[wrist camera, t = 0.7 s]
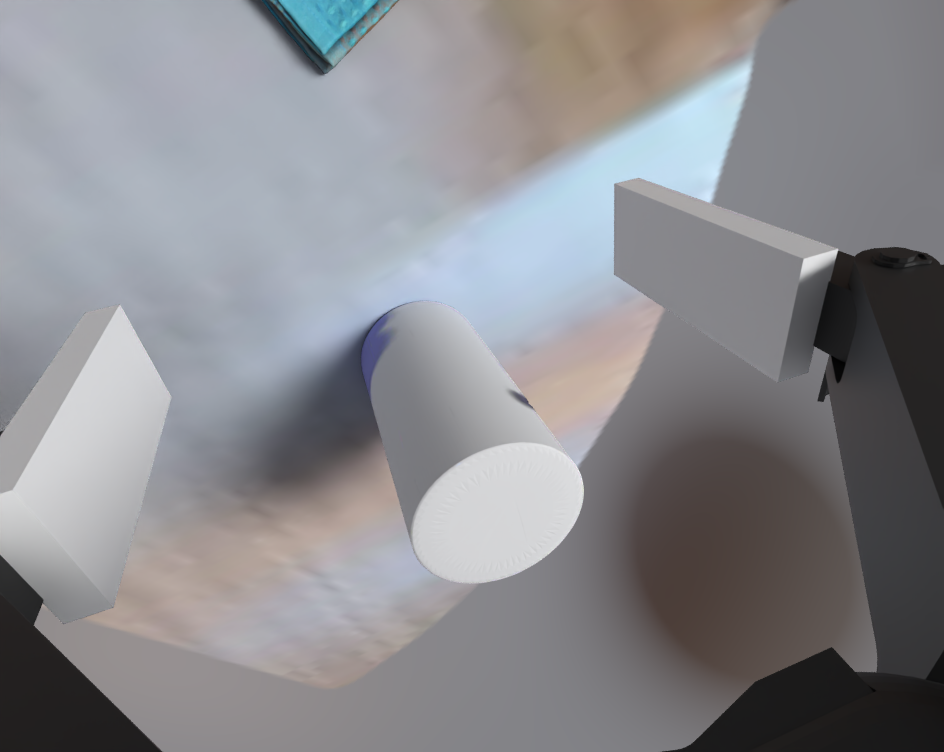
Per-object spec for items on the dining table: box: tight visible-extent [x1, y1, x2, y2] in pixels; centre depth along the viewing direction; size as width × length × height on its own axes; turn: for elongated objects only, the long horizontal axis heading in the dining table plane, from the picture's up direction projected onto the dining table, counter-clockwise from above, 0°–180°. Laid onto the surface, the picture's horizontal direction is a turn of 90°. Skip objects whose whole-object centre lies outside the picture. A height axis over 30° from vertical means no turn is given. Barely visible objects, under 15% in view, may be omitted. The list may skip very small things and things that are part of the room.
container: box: [361, 301, 584, 583], centre depth 38 cm, size 10×10×20 cm
